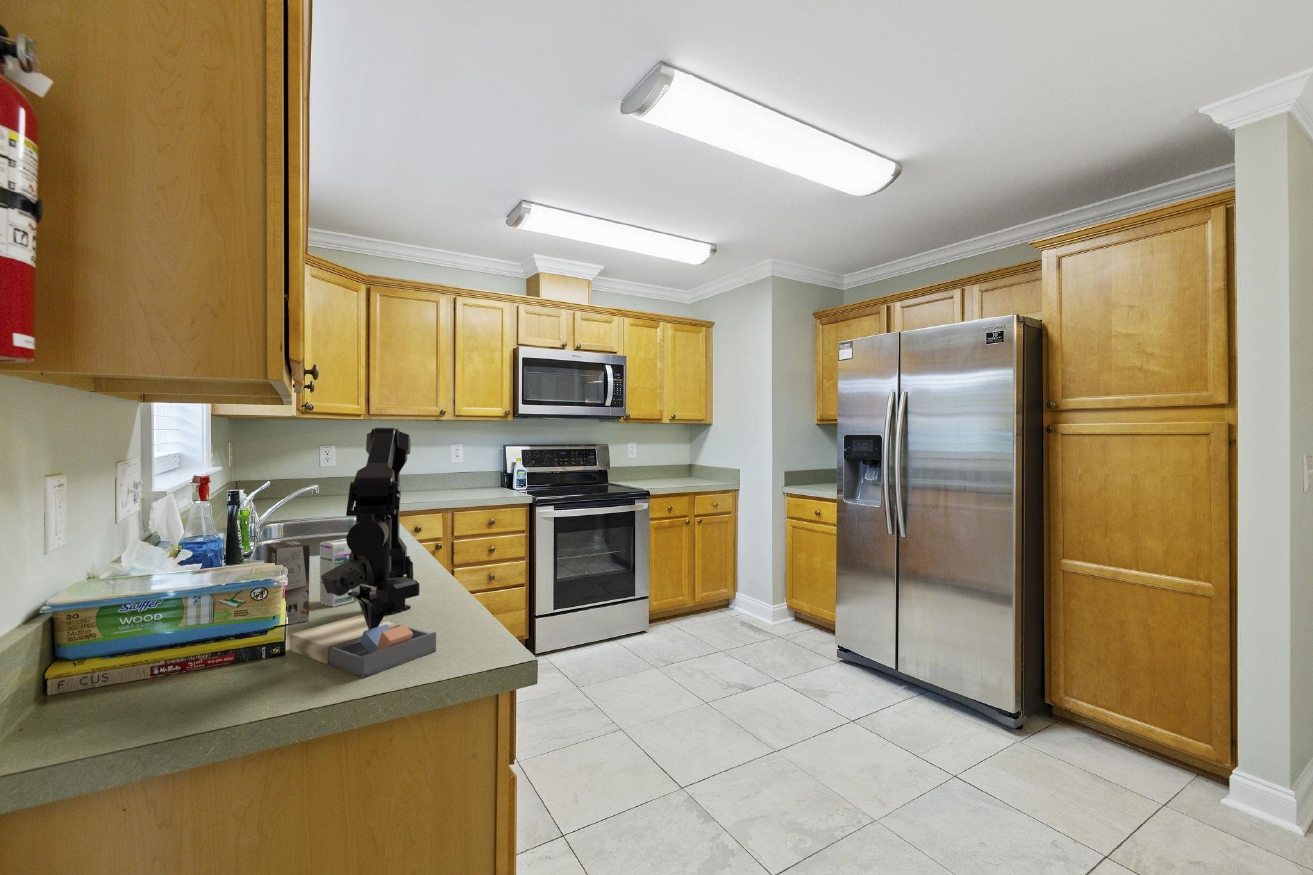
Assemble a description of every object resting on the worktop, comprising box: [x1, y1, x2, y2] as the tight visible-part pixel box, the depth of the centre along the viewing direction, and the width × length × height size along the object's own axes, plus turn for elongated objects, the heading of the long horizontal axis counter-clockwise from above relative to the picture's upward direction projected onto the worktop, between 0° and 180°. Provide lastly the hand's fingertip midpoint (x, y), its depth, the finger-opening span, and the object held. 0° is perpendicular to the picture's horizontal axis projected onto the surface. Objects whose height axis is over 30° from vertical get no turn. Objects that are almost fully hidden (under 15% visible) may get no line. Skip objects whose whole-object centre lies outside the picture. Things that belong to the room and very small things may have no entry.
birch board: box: [289, 613, 401, 665], centre depth 111 cm, size 12×14×3 cm
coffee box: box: [263, 539, 311, 625], centre depth 125 cm, size 9×6×16 cm
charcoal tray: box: [328, 626, 437, 678], centre depth 105 cm, size 10×14×4 cm
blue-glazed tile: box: [360, 624, 391, 653], centre depth 106 cm, size 4×4×2 cm
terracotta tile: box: [376, 624, 413, 651], centre depth 103 cm, size 4×4×2 cm
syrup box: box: [319, 538, 358, 608], centre depth 138 cm, size 6×6×14 cm
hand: (372, 630), depth 106 cm, fingers closed
